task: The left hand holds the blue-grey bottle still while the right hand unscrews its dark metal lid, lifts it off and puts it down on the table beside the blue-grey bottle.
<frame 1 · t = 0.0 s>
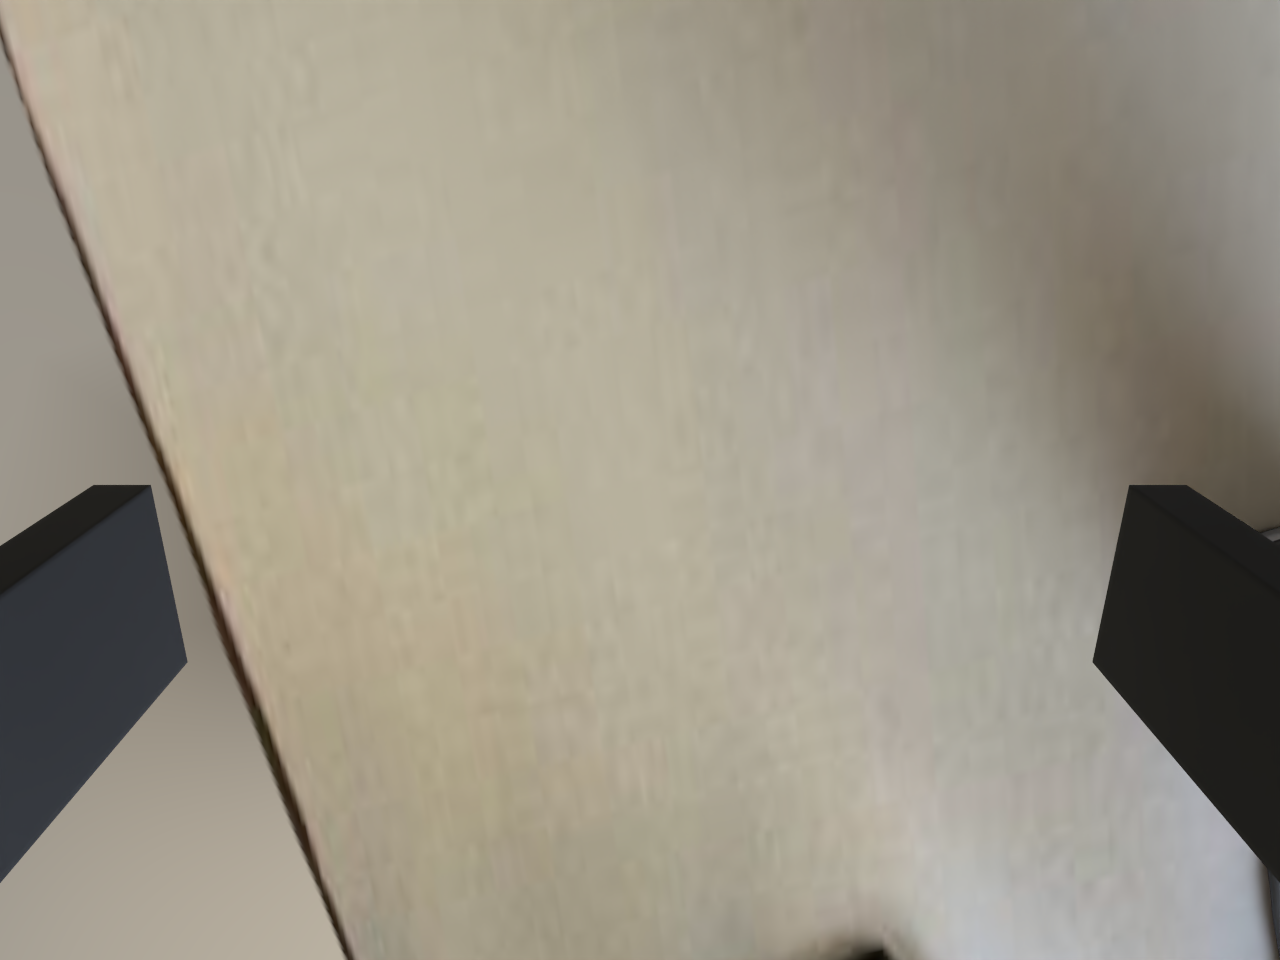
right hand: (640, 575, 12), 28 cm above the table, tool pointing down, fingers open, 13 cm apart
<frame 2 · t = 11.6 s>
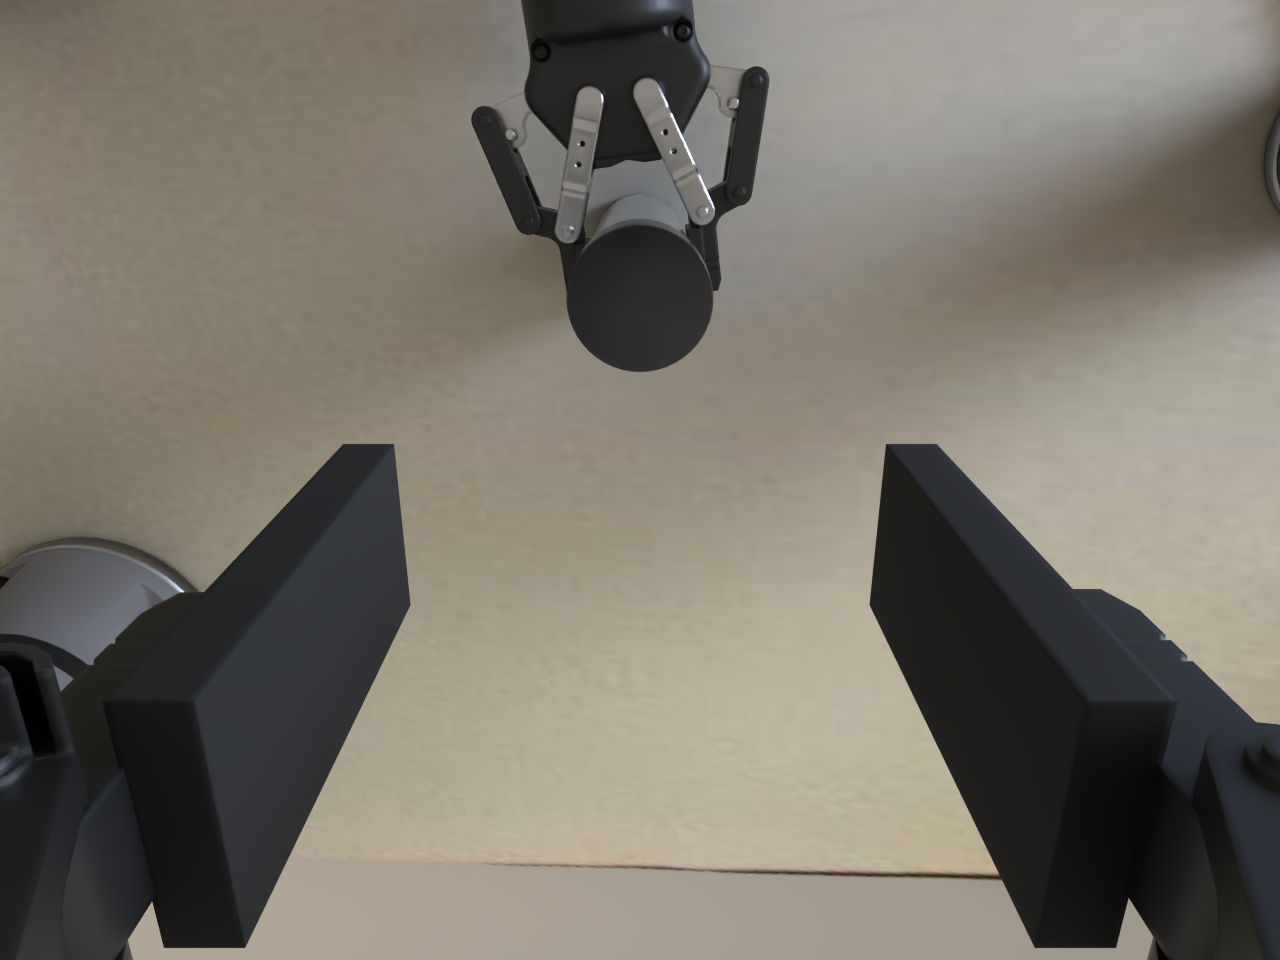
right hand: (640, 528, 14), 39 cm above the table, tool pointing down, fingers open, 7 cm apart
left hand: (646, 307, 45), fingers closed on blue-grey bottle, 4 cm apart
blue-grey bottle: (639, 239, 50), on the table, touching left hand
lid: (639, 298, 33), point 19 cm above the table, screwed on, not yet turned
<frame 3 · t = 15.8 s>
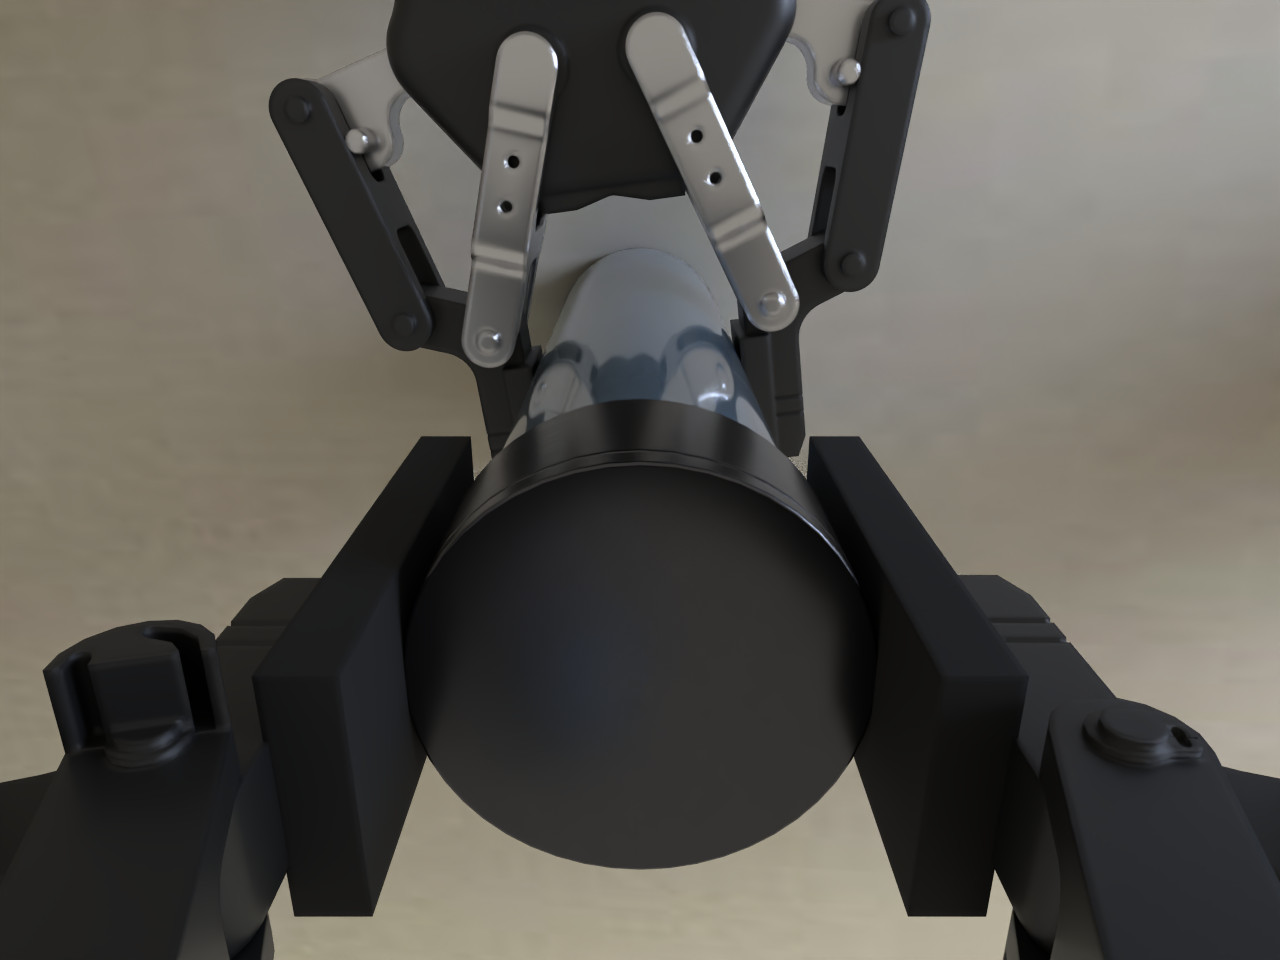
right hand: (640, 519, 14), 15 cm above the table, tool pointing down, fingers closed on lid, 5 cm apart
left hand: (652, 483, 23), fingers closed on blue-grey bottle, 4 cm apart
blue-grey bottle: (640, 327, 28), on the table, touching left hand
lid: (640, 668, 10), point 19 cm above the table, screwed on, not yet turned, touching right hand
when the right hand's fingers open (15 cm above the table, at t = 17.1 s): lid stays where it is, point 19 cm above the table.
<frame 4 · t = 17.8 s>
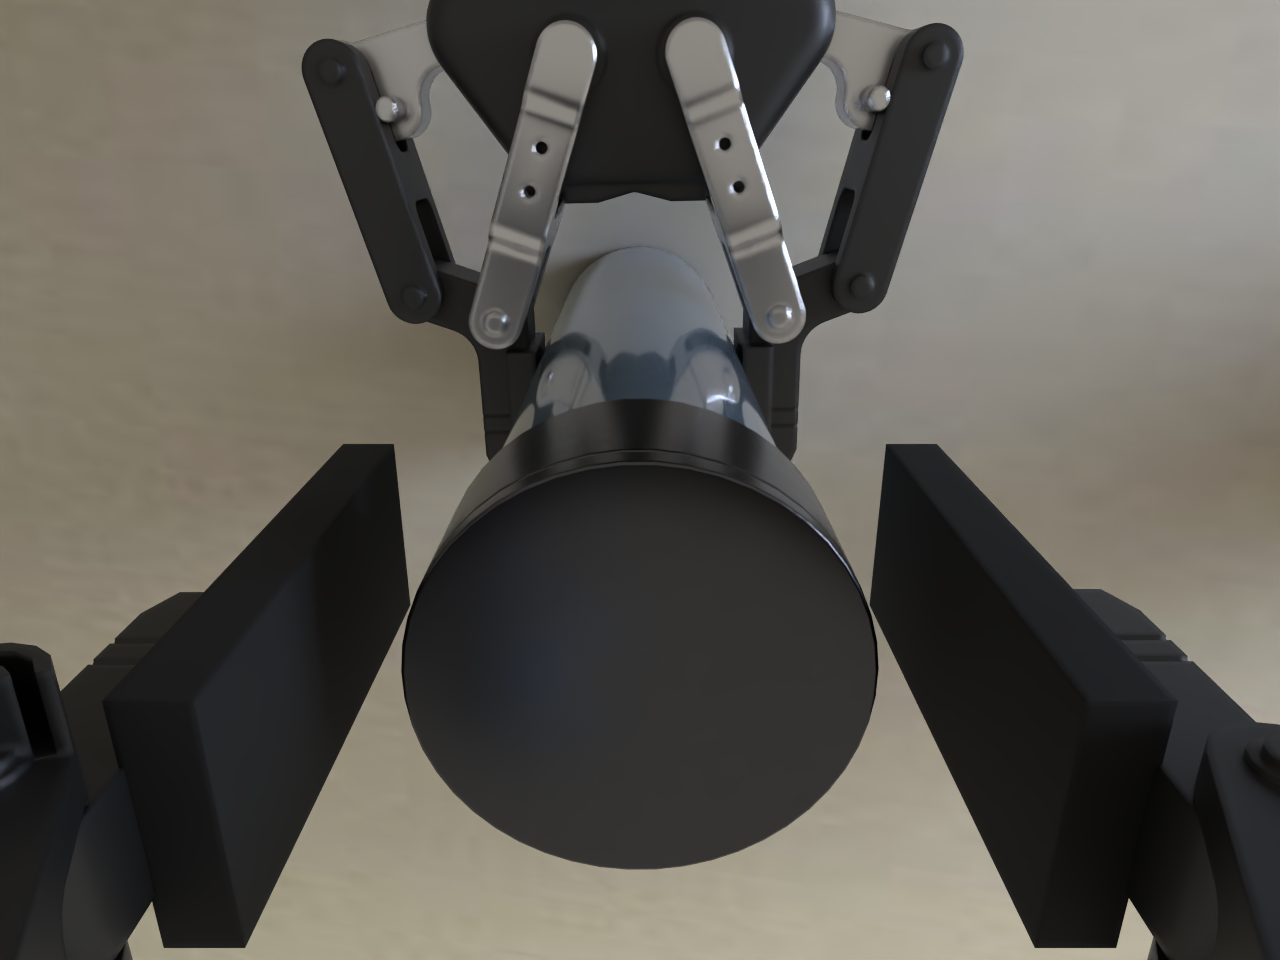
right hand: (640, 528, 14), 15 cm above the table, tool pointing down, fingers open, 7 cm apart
left hand: (640, 480, 23), fingers closed on blue-grey bottle, 4 cm apart
blue-grey bottle: (639, 325, 28), on the table, touching left hand
lid: (639, 668, 10), point 19 cm above the table, turned 93° so far, risen 0.2 cm, still on its thread
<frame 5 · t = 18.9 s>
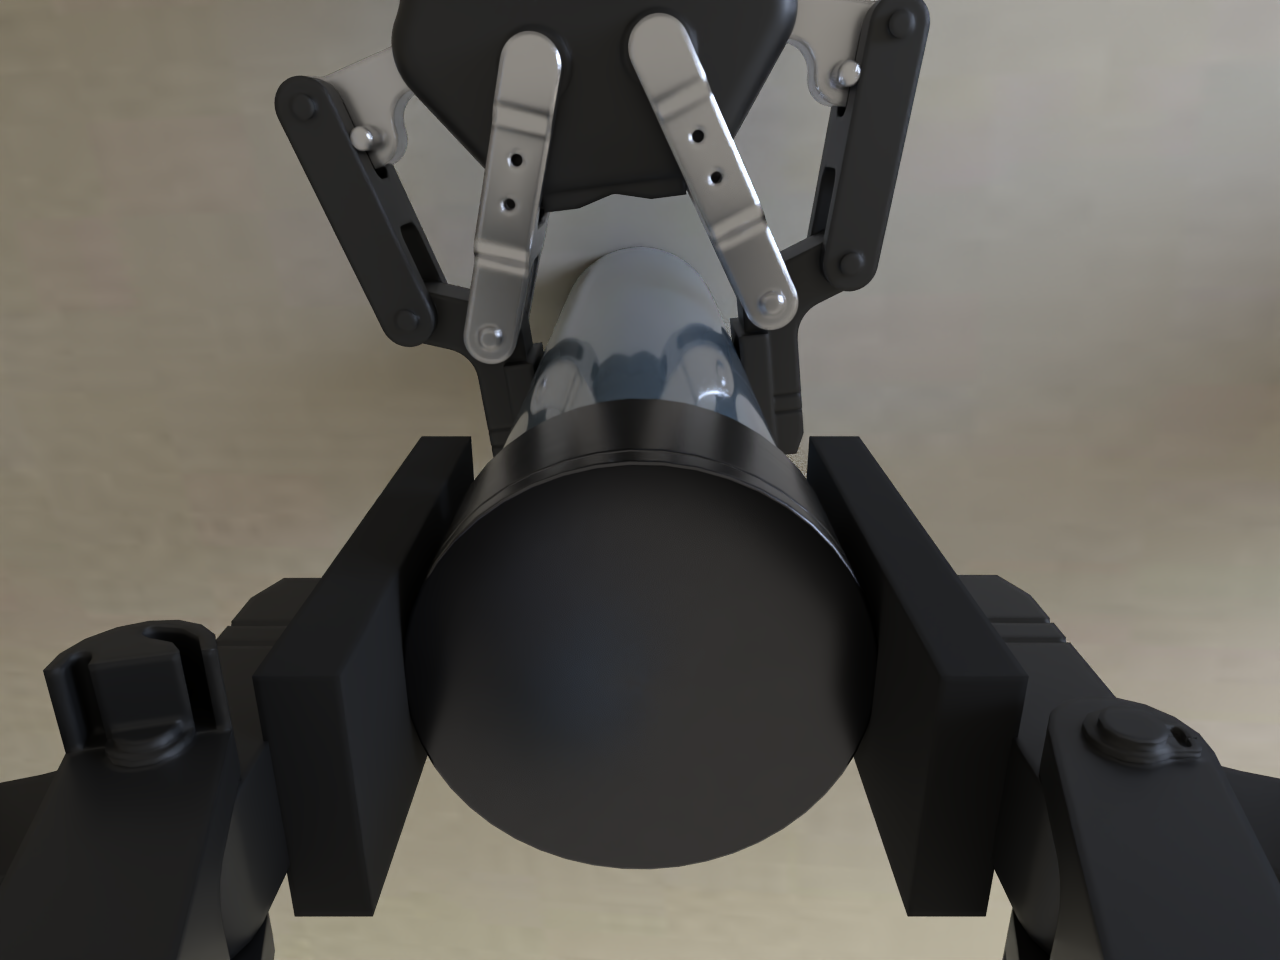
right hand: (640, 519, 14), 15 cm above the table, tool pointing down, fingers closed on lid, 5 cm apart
left hand: (651, 479, 23), fingers closed on blue-grey bottle, 4 cm apart
blue-grey bottle: (640, 325, 28), on the table, touching left hand
lid: (640, 667, 10), point 19 cm above the table, turned 93° so far, risen 0.2 cm, still on its thread, touching right hand
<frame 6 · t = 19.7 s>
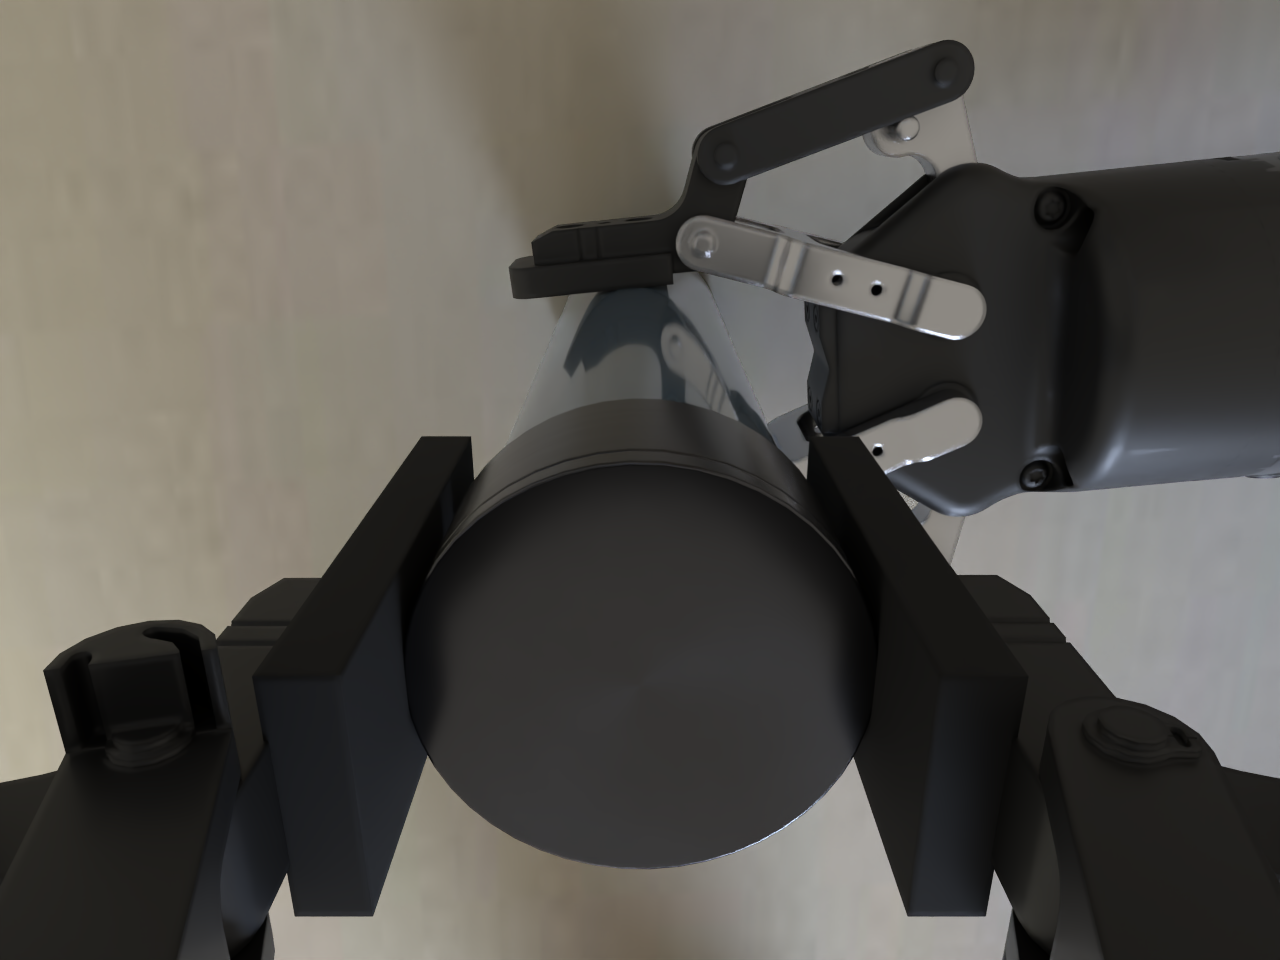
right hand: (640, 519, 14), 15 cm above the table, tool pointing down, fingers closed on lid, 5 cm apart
left hand: (534, 387, 22), fingers closed on blue-grey bottle, 4 cm apart
blue-grey bottle: (640, 325, 28), on the table, touching left hand
lid: (640, 667, 10), point 19 cm above the table, off its thread, touching right hand
when the right hand's fingers open (0 cm above the table, at t = 28.2 s): lid drops 2 cm, point 2 cm above the table.
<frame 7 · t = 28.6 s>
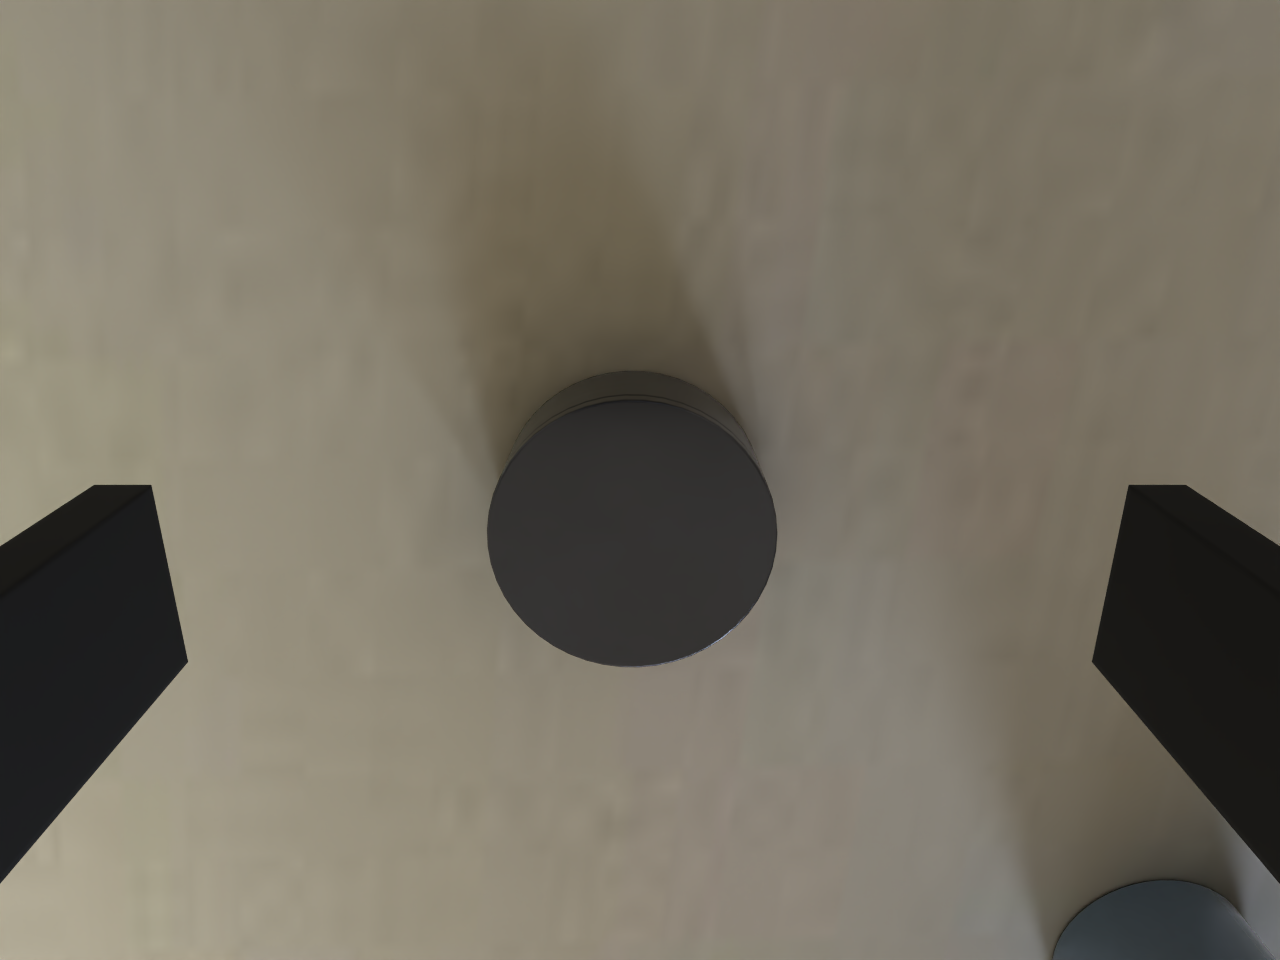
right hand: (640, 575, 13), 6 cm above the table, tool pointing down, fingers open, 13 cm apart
blue-grey bottle: (1147, 955, 23), on the table, touching left hand
lid: (632, 533, 17), point 2 cm above the table, off its thread
when the left hand's fingers open (7 cm above the table, at t = 28.8 s): blue-grey bottle stays where it is, on the table.
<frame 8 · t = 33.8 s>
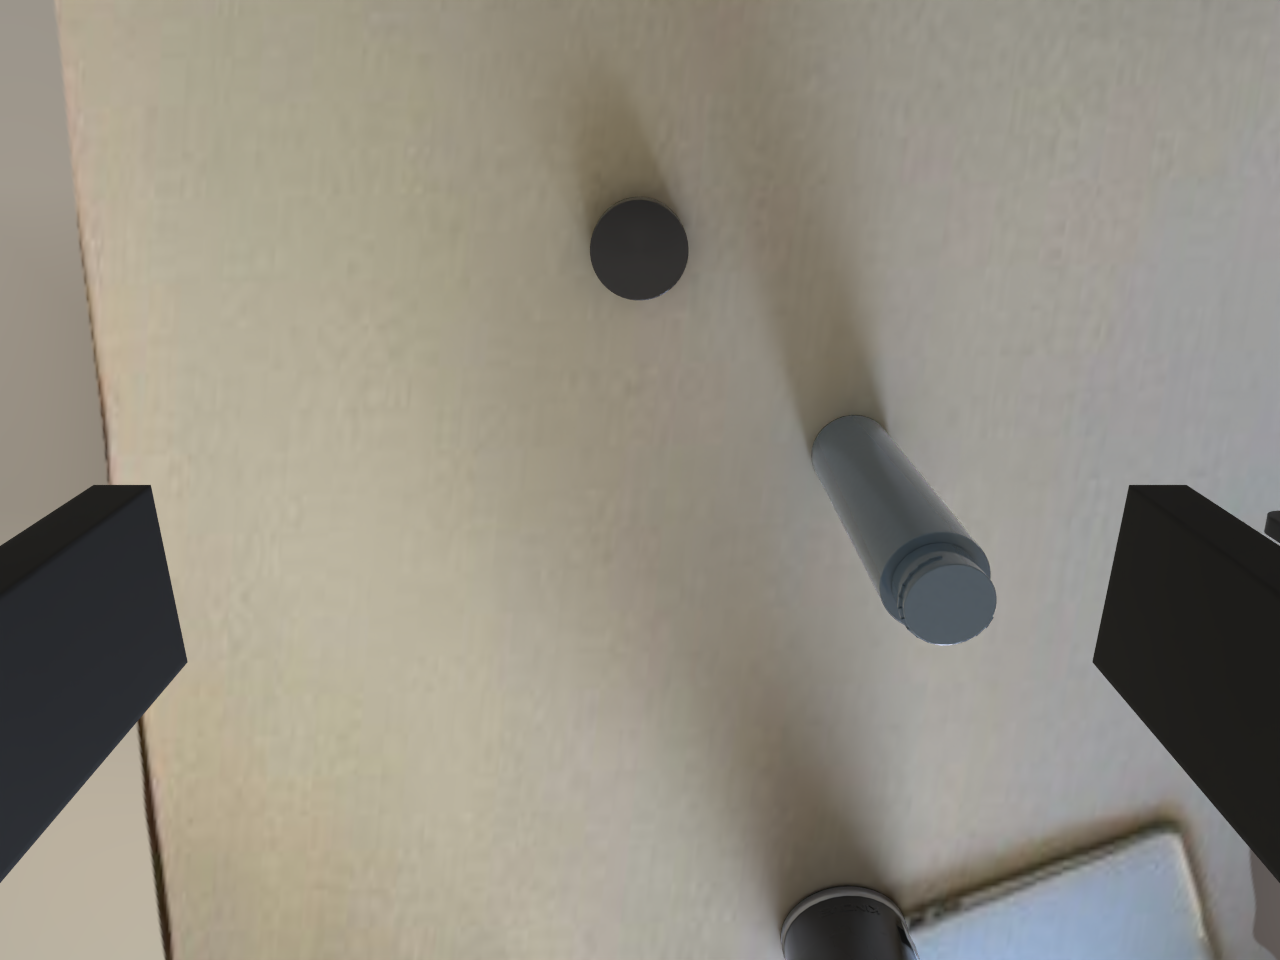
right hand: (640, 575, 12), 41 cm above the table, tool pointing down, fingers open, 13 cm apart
blue-grey bottle: (851, 452, 55), on the table
lid: (639, 250, 49), point 2 cm above the table, off its thread
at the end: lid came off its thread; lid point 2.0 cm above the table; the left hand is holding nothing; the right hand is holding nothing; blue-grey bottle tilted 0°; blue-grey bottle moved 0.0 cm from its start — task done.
